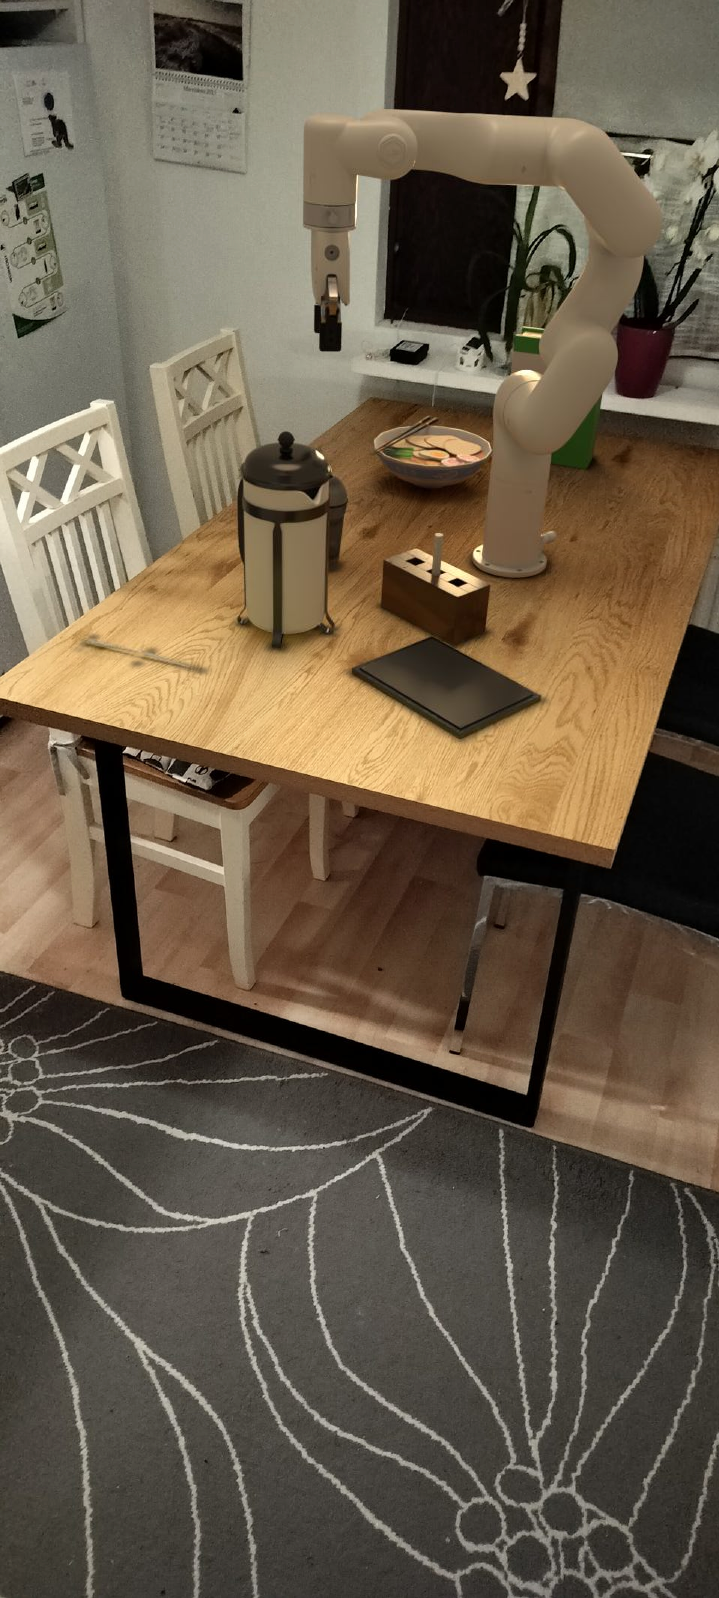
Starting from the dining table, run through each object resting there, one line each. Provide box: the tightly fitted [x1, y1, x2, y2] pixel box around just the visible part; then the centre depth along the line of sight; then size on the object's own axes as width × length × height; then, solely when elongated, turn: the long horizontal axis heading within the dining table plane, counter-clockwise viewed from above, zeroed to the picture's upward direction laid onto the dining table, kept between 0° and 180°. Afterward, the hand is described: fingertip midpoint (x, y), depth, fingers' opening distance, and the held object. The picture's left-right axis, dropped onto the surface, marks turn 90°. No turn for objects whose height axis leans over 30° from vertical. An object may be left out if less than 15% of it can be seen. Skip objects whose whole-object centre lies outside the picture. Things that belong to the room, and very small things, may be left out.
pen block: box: [380, 548, 491, 646], centre depth 183 cm, size 7×16×8 cm, turn 41°
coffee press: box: [236, 430, 336, 649], centre depth 173 cm, size 17×16×30 cm
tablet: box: [351, 636, 542, 739], centre depth 168 cm, size 22×16×1 cm
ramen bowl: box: [369, 415, 493, 490], centre depth 230 cm, size 25×23×8 cm
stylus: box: [84, 637, 193, 668], centre depth 172 cm, size 4×1×19 cm
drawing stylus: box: [432, 532, 444, 576], centre depth 181 cm, size 1×1×14 cm
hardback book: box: [510, 325, 604, 470], centre depth 239 cm, size 18×7×24 cm, turn 71°
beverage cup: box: [317, 447, 349, 572], centre depth 194 cm, size 7×7×20 cm
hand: (327, 341), depth 177 cm, fingers open, 9 cm apart
